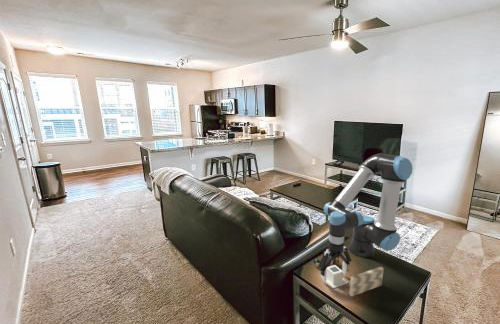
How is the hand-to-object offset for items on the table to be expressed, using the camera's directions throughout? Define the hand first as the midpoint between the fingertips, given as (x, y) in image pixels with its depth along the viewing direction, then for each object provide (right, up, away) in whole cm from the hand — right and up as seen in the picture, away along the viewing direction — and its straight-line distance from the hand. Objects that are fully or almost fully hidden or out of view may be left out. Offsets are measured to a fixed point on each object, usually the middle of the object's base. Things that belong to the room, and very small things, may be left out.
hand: (334, 276), depth 126 cm
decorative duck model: (0, +1, +15) cm, 15 cm away
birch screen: (+14, -3, -7) cm, 16 cm away
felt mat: (0, -2, 0) cm, 2 cm away
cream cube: (0, -1, 0) cm, 1 cm away
